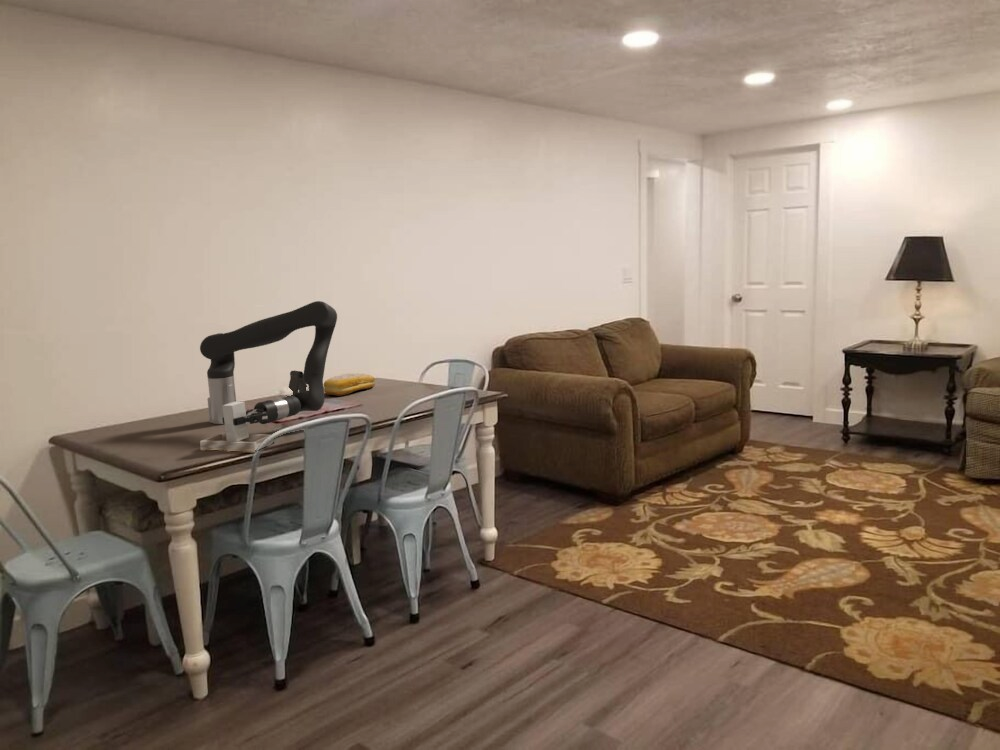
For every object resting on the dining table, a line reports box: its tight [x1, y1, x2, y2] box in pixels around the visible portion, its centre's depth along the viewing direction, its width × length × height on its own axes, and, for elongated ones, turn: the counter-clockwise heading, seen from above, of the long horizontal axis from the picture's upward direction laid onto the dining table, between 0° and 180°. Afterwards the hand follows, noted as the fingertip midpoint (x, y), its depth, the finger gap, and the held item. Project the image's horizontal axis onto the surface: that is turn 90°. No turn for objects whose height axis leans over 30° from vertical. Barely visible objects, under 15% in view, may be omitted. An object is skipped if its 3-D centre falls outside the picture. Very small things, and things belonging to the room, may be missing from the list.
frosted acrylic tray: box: [199, 432, 271, 453], centre depth 244 cm, size 20×11×3 cm, turn 75°
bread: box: [323, 373, 376, 397], centre depth 335 cm, size 13×26×8 cm, turn 154°
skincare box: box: [222, 401, 250, 442], centre depth 243 cm, size 6×4×12 cm
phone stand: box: [288, 369, 308, 394], centre depth 323 cm, size 9×6×12 cm, turn 136°
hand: (228, 421), depth 240 cm, fingers closed on skincare box, 5 cm apart
